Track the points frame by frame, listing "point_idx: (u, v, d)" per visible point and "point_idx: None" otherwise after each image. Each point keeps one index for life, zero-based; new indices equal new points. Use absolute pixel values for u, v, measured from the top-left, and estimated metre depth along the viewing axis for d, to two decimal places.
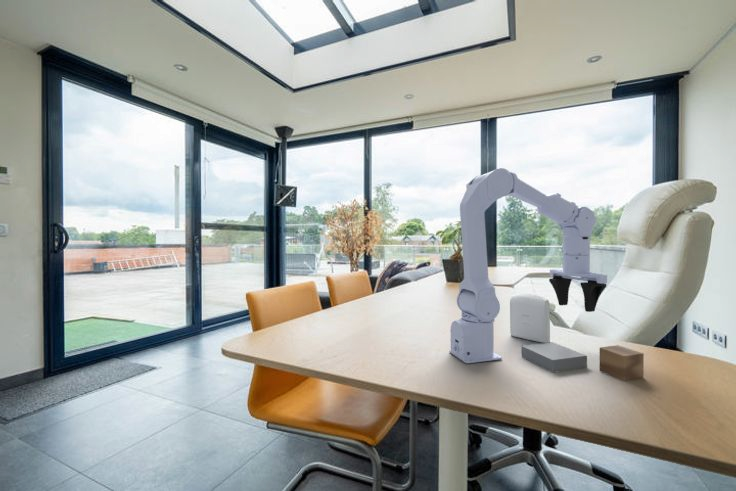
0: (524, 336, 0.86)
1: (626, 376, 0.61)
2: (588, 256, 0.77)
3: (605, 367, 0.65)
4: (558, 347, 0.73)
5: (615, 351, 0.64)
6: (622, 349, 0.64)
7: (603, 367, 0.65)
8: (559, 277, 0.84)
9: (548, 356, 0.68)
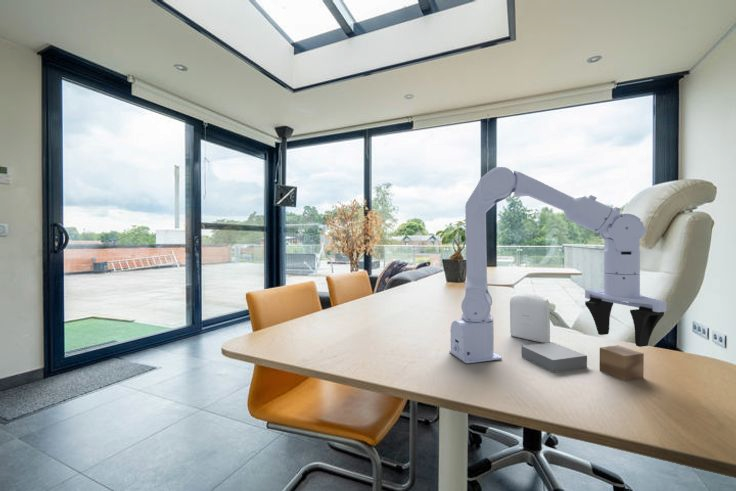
0: (524, 336, 0.86)
1: (626, 376, 0.61)
2: (638, 276, 0.61)
3: (605, 367, 0.65)
4: (558, 347, 0.73)
5: (615, 351, 0.64)
6: (622, 349, 0.64)
7: (603, 367, 0.65)
8: (598, 300, 0.68)
9: (548, 356, 0.68)
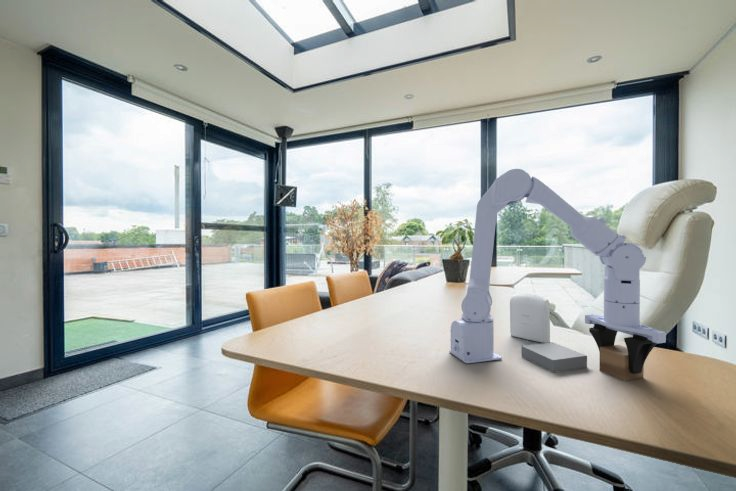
0: (524, 336, 0.86)
1: (626, 375, 0.61)
2: (638, 304, 0.61)
3: (605, 366, 0.65)
4: (558, 347, 0.73)
5: (615, 350, 0.64)
6: (622, 349, 0.64)
7: (603, 366, 0.65)
8: (598, 326, 0.68)
9: (548, 356, 0.68)
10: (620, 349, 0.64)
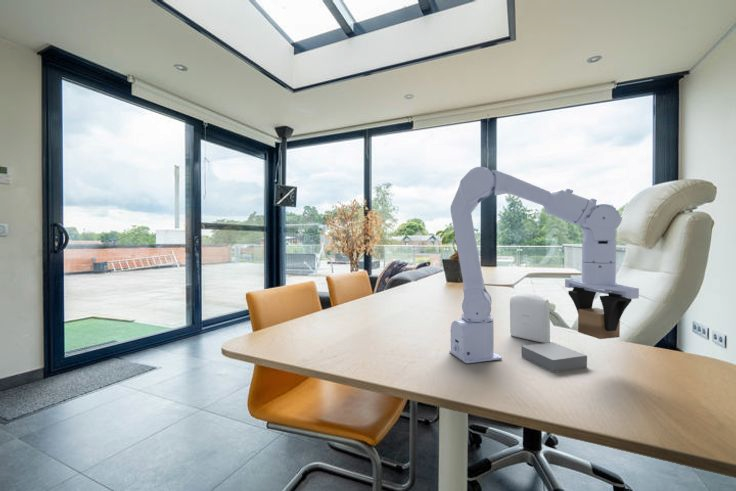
0: (524, 336, 0.86)
1: (602, 334, 0.63)
2: (614, 264, 0.63)
3: (583, 327, 0.67)
4: (558, 347, 0.73)
5: (592, 311, 0.66)
6: (600, 310, 0.66)
7: (581, 327, 0.67)
8: (577, 288, 0.70)
9: (548, 356, 0.68)
10: (598, 310, 0.66)
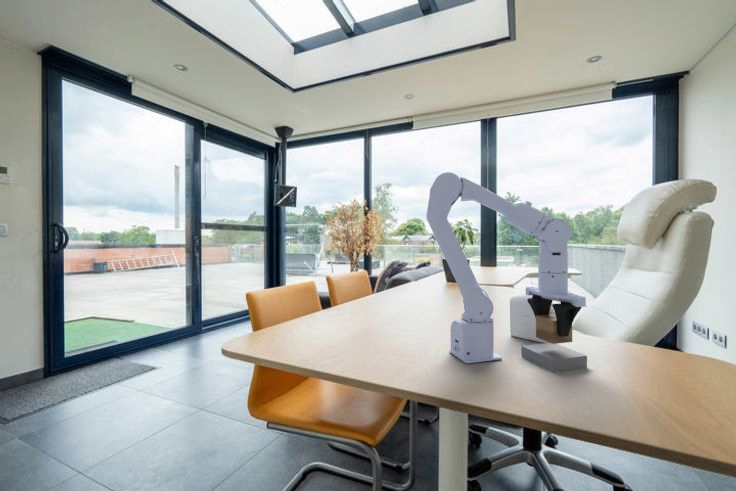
0: (524, 336, 0.86)
1: (555, 339, 0.68)
2: (565, 274, 0.68)
3: (540, 333, 0.71)
4: (558, 347, 0.73)
5: (547, 318, 0.70)
6: (555, 317, 0.71)
7: (538, 333, 0.72)
8: (535, 296, 0.74)
9: (548, 356, 0.68)
10: (553, 317, 0.71)
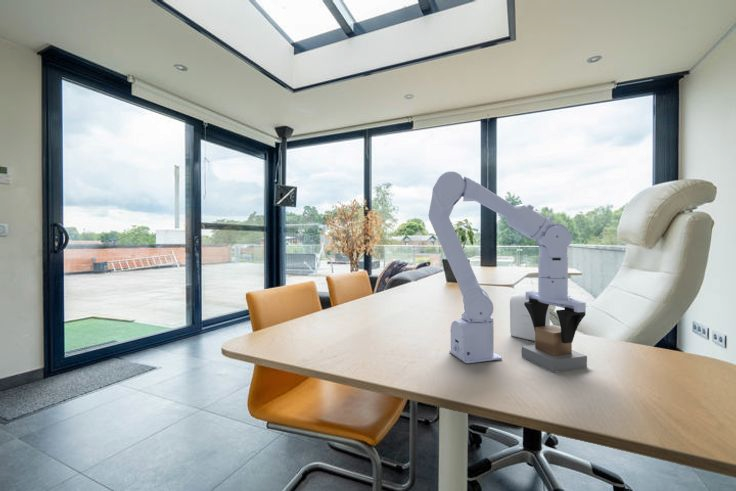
0: (524, 336, 0.86)
1: (555, 351, 0.68)
2: (565, 279, 0.68)
3: (539, 344, 0.71)
4: None
5: (547, 329, 0.70)
6: (554, 328, 0.71)
7: (538, 344, 0.72)
8: (535, 301, 0.74)
9: (548, 356, 0.68)
10: (552, 328, 0.71)
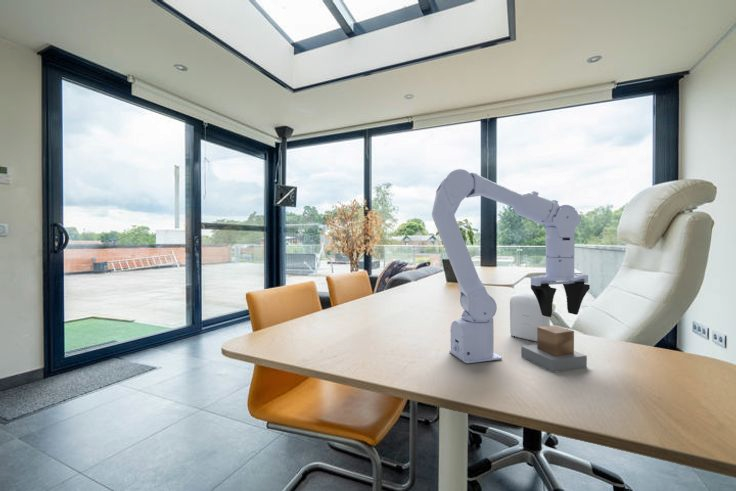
0: (524, 336, 0.86)
1: (557, 351, 0.68)
2: (553, 258, 0.72)
3: (541, 344, 0.71)
4: None
5: (549, 329, 0.70)
6: (556, 328, 0.71)
7: (540, 344, 0.72)
8: None
9: (547, 356, 0.68)
10: (554, 328, 0.71)
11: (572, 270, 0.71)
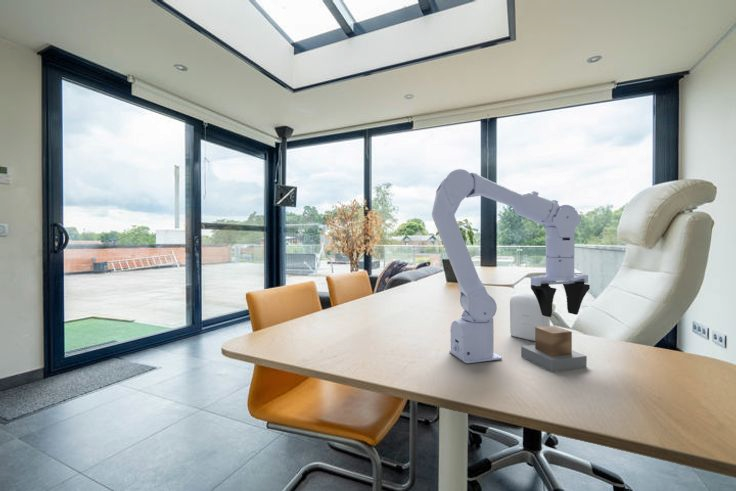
0: (524, 336, 0.86)
1: (554, 351, 0.68)
2: (553, 258, 0.72)
3: (539, 344, 0.71)
4: None
5: (547, 330, 0.70)
6: (554, 329, 0.71)
7: (538, 344, 0.72)
8: None
9: (547, 356, 0.68)
10: (552, 329, 0.71)
11: (572, 270, 0.71)
